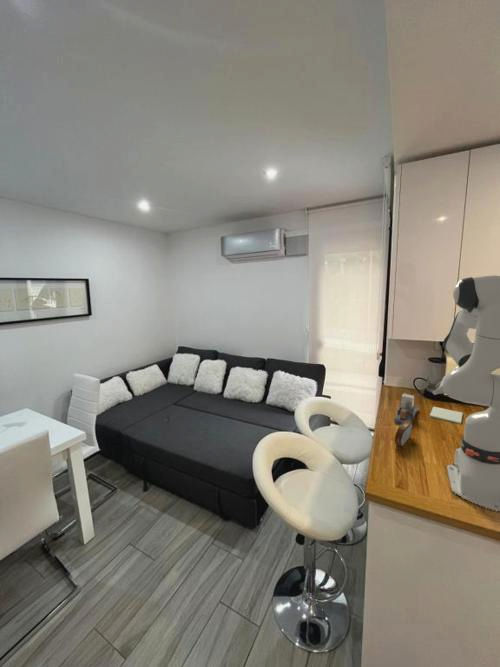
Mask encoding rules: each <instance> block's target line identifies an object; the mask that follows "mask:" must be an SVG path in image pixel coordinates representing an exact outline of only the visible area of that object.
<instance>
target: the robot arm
mask: <svg viewBox="0 0 500 667" xmlns="http://www.w3.org/2000/svg"><path fill="white" fill-rule="evenodd" d="M452 293H453V294H452V296H453V300H454V303H455V304H456V305H457V306H458V307H459V308H461V309H460V310H459V311H458V312H457V314H456V315H455V318H454V320H453V323H452V325H451V327H450V330H449V332H448V334H447V335H446V337H445V338H444V340H443V341H442V347H443V348H444V349H445V350H446V351H447V353H448V354H449V355H450V357H451V358H452V360H453V361H454V362H455V363H456V365H455V366H454V367H452V368H451V369H450V371H449V372H448V373H447V374H445V375H444V376H443V377H442V380H441V381H440V382H438V383H437V384H436V385H435V388H436V389H434V390H433V391H432V394H433V395H434V396H436V395H438V394H442V393H443V394H444V395H446V396H447V397H449V398H450V399H453V400H456V401H460V402H462V403H467V404H473V405H478V406H484V407H488V408H487V409H484V410H482V411H477V412H473V413H471V414H469V415H468V416H467V417H466V419H465V422H464V431H463V436H461V441H460V443H461V445H460V447H459V448H456V449H455V454H454V462H453V463H452V464H448V465H447V466H446V470H447V475H448V479H449V483H450V487H451V488H452V489H451V488H450V489H451V492H452V491H453V492H454V493H455V494H454V493H453V492H452V493H453V494H454V495H456V494H457V495H459V496H461V497H463V498H465V499H467V500H469V501H472V502H473V503H476V504H478V505H480V506H479V507H481V506H484V507H486V508H485V509H487V508H489V509H488V510H490V509H493V510H497V511H500V374H495V373H493V372H494V371H496V370H499V369H500V275H497V274H496V275H484V276H478V277H477V276H476V277H472V276H469V277H467V278H466V277H465V278H462V279H459V280H458V281H457V282H456V285H455V286H454V289H453V292H452ZM470 329H473V330H475V334H474V342H473V343H472V341H471V340H470V339H469V337H468V332H469V330H470ZM457 495H456V496H457ZM463 495H464V496H463ZM459 496H458V497H459ZM461 497H460V498H461ZM469 501H468V502H469ZM473 503H472V504H473ZM476 504H475V505H476ZM478 505H477V506H478ZM484 507H483V508H484ZM493 510H492V511H493ZM497 511H496V512H497Z"/></svg>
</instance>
